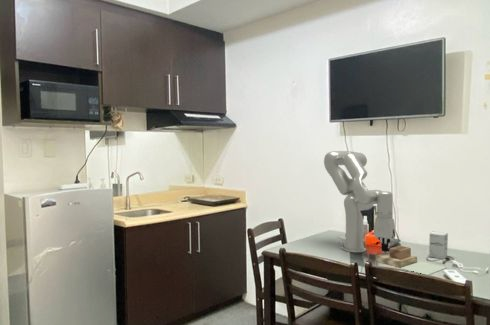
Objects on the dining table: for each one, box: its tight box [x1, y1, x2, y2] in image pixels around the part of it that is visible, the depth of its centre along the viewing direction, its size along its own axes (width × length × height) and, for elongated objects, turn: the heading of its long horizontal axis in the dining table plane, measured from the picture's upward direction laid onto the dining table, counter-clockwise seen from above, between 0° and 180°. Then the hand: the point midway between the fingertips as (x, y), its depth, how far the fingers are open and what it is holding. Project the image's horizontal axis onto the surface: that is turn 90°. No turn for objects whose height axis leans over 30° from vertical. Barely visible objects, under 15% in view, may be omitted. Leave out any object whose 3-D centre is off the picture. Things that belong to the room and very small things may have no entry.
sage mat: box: [399, 261, 447, 276], centre depth 183 cm, size 13×18×1 cm
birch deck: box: [375, 251, 418, 269], centre depth 194 cm, size 14×14×3 cm
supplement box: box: [428, 231, 449, 260], centre depth 203 cm, size 7×7×13 cm
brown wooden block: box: [389, 245, 412, 260], centre depth 193 cm, size 6×9×4 cm, turn 127°
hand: (384, 250), depth 200 cm, fingers closed
